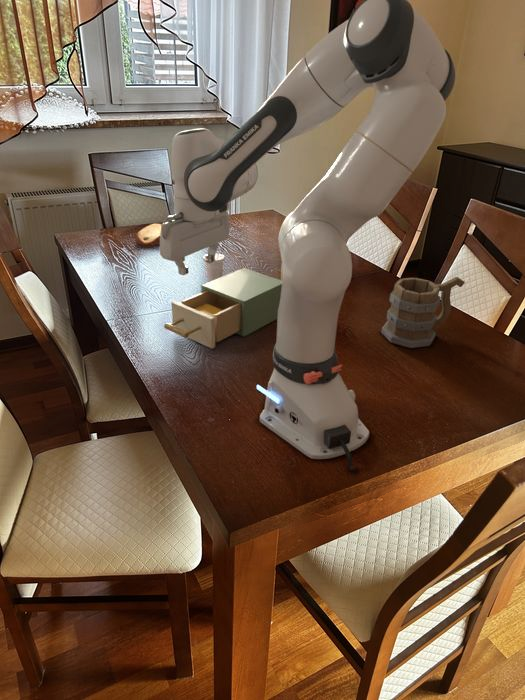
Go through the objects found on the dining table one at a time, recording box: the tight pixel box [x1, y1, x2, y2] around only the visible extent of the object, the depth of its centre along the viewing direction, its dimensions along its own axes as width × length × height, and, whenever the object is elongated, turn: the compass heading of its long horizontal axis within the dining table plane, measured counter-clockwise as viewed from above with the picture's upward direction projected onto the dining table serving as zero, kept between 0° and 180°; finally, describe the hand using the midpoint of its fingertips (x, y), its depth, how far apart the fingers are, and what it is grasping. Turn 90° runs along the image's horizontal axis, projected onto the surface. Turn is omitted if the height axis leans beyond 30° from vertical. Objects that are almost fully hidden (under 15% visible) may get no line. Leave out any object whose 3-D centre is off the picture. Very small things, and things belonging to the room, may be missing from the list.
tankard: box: [380, 276, 466, 349], centre depth 133 cm, size 20×13×15 cm, turn 105°
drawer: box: [163, 290, 242, 349], centre depth 130 cm, size 21×14×8 cm, turn 141°
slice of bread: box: [135, 223, 162, 248], centre depth 197 cm, size 18×18×4 cm
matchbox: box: [195, 303, 223, 317], centre depth 132 cm, size 8×6×4 cm, turn 50°
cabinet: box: [200, 267, 282, 337], centre depth 140 cm, size 17×15×10 cm
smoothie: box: [202, 252, 226, 283], centre depth 156 cm, size 6×6×14 cm
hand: (197, 267), depth 122 cm, fingers open, 8 cm apart
